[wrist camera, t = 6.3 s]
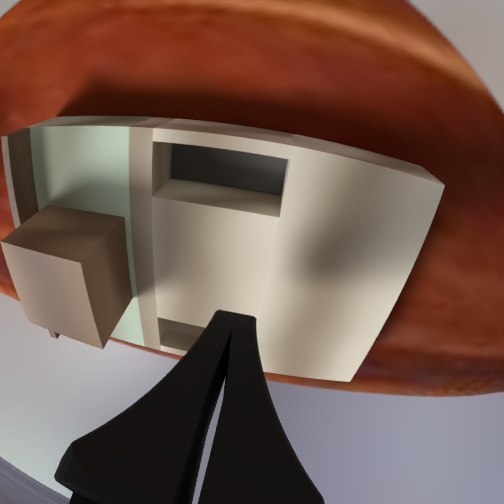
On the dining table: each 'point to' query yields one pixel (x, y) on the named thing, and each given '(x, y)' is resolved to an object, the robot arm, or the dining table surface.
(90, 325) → the walnut block
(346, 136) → the dining table surface
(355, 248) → the box
